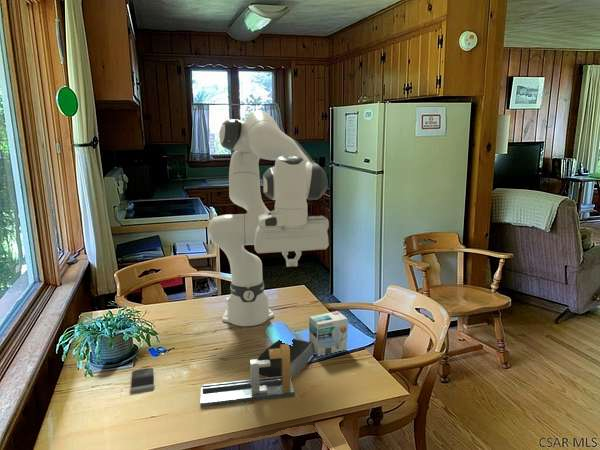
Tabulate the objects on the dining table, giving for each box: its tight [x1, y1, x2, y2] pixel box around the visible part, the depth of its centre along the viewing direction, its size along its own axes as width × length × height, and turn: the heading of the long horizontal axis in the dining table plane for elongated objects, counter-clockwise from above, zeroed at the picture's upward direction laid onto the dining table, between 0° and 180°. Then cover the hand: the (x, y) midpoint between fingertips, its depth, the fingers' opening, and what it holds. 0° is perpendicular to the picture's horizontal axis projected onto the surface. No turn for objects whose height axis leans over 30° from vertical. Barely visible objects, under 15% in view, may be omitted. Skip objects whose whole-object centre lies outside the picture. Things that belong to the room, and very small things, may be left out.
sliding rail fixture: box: [199, 344, 296, 408], centre depth 117 cm, size 7×24×13 cm, turn 101°
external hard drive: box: [257, 338, 315, 379], centre depth 135 cm, size 13×19×4 cm
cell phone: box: [129, 367, 156, 395], centre depth 125 cm, size 6×11×1 cm, turn 18°
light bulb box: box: [308, 310, 349, 356], centre depth 141 cm, size 11×7×11 cm, turn 114°
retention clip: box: [249, 358, 270, 395], centre depth 117 cm, size 2×5×9 cm, turn 101°
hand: (291, 266), depth 124 cm, fingers closed
